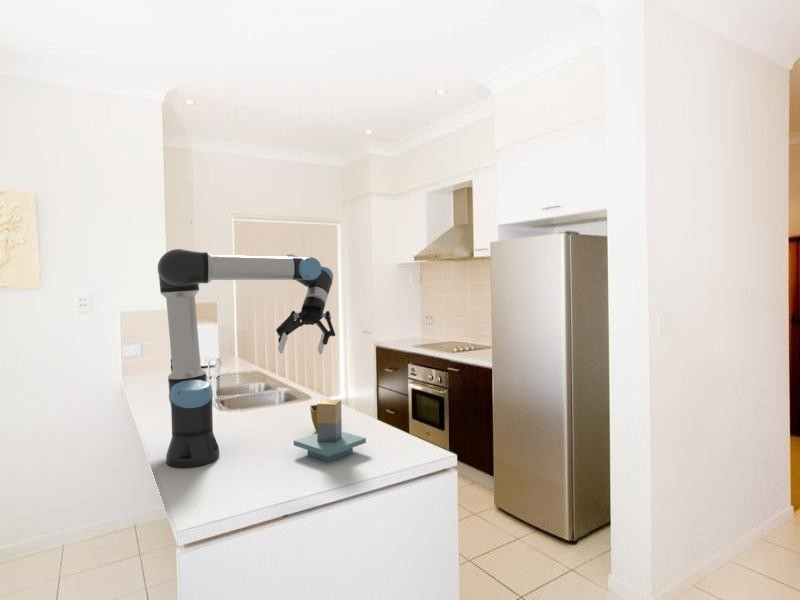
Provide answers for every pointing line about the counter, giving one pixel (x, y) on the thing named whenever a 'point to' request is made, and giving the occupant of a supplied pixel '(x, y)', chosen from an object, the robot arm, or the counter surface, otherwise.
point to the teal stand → (330, 446)
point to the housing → (329, 421)
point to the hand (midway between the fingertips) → (299, 351)
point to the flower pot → (314, 415)
